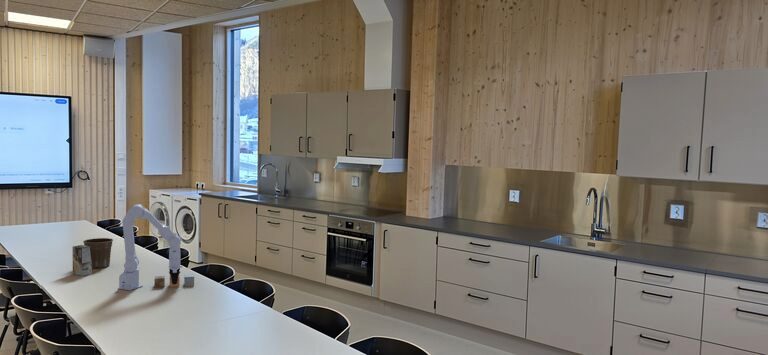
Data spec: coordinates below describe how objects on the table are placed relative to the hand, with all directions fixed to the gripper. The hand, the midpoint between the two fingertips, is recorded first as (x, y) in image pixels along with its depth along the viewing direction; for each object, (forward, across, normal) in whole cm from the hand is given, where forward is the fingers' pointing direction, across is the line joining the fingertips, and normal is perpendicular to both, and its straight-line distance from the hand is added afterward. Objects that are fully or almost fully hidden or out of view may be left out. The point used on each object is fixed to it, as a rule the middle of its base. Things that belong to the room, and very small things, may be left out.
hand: (174, 282), depth 299 cm
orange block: (+1, 0, 0) cm, 1 cm away
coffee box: (+2, +38, +49) cm, 62 cm away
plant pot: (+2, +56, +43) cm, 71 cm away
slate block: (+2, 0, -8) cm, 8 cm away
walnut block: (+2, 0, +8) cm, 8 cm away
